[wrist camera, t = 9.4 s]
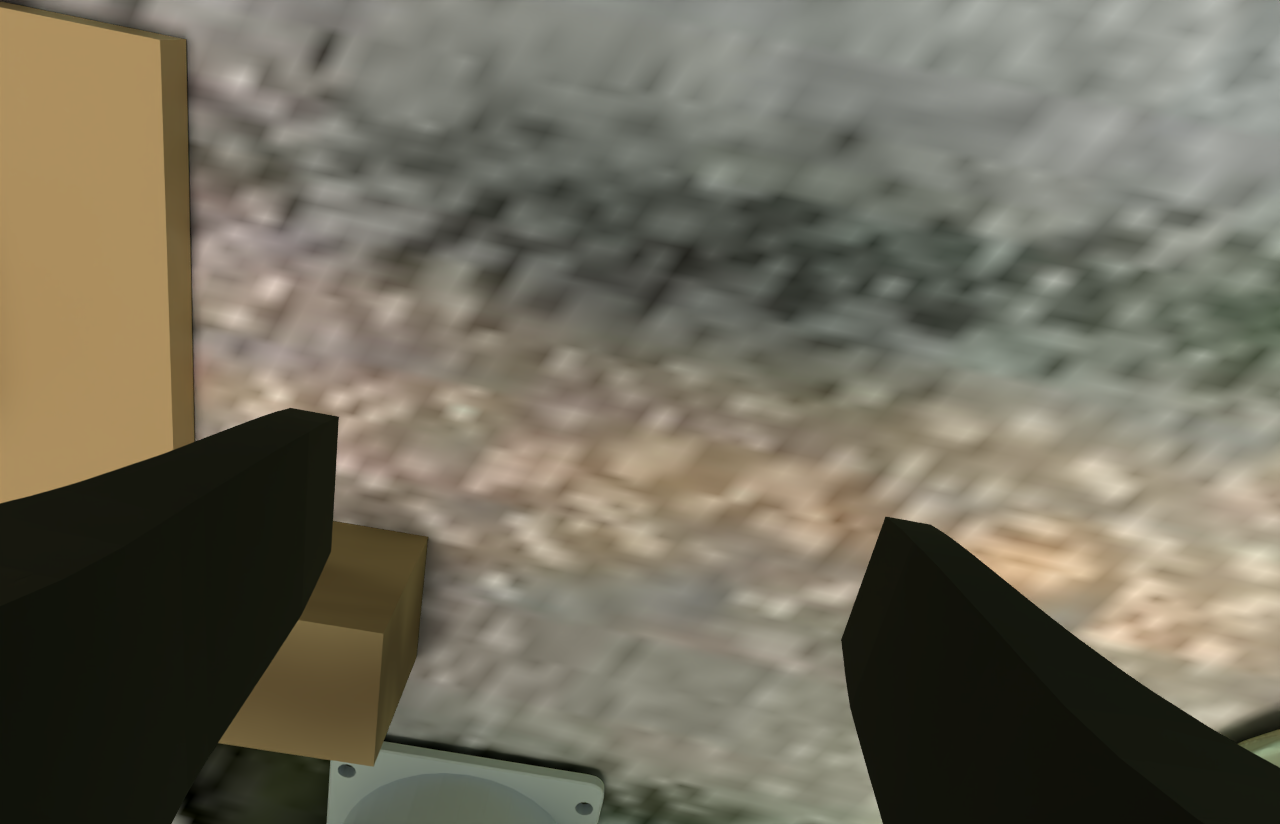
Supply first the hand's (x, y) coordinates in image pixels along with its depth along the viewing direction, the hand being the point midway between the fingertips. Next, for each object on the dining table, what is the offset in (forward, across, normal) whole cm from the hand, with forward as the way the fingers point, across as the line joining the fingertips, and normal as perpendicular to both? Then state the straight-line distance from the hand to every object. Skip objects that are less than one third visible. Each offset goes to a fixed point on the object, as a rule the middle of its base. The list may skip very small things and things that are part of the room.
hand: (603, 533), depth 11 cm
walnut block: (+10, +6, +9) cm, 14 cm away
